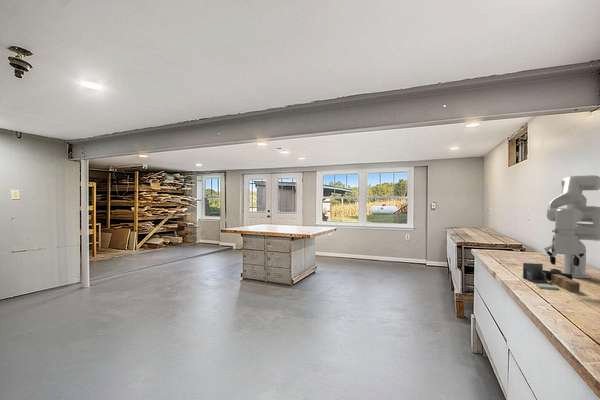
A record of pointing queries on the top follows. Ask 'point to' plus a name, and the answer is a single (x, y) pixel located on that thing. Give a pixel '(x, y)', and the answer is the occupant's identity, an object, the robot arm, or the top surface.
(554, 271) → the pipe connector
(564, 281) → the walnut rail
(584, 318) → the top surface
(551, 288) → the pad
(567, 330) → the top surface
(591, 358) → the top surface
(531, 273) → the grey metal bracket
